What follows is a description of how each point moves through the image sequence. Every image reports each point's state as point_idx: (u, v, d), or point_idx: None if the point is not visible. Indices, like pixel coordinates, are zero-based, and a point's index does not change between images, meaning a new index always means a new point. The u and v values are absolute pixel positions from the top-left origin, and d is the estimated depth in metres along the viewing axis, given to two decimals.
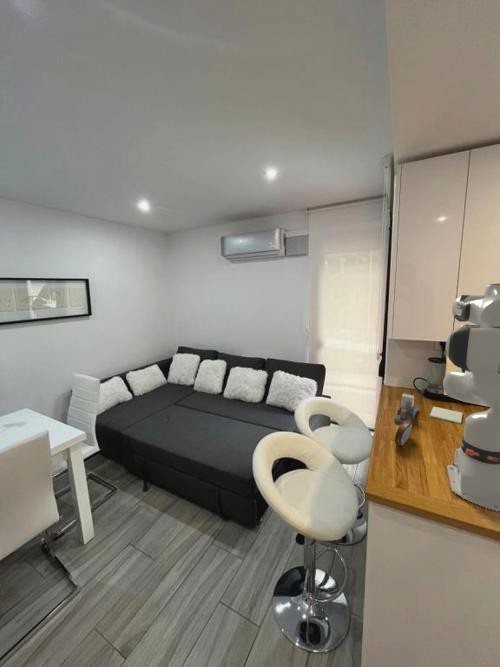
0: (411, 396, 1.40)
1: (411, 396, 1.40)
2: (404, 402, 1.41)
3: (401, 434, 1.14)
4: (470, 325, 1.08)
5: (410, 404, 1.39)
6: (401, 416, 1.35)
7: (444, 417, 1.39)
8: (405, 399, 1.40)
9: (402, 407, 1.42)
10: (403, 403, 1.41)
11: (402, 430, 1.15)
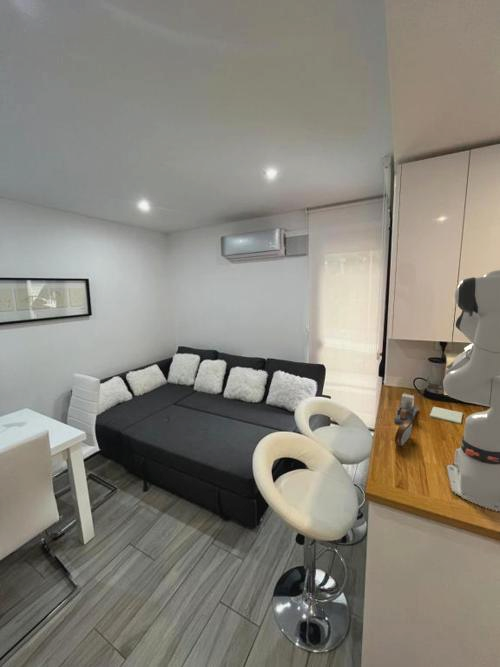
0: (411, 396, 1.40)
1: (411, 396, 1.40)
2: (404, 402, 1.41)
3: (401, 434, 1.14)
4: None
5: (410, 404, 1.39)
6: (401, 416, 1.35)
7: (444, 417, 1.39)
8: (405, 399, 1.40)
9: (402, 407, 1.42)
10: (403, 403, 1.41)
11: (402, 430, 1.15)
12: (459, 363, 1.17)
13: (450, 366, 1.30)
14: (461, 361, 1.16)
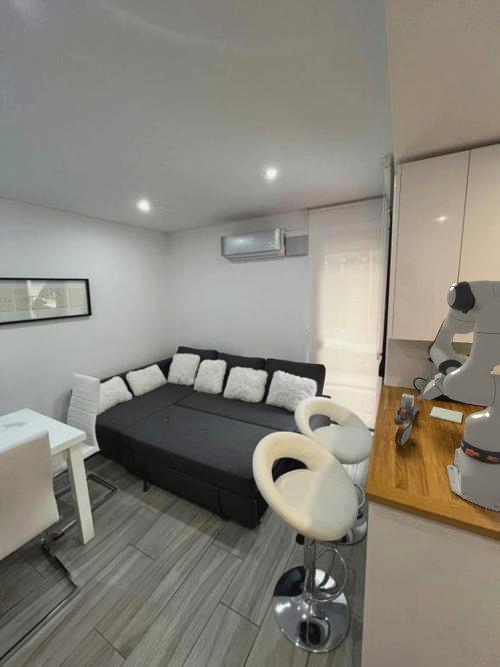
0: (411, 396, 1.40)
1: (411, 396, 1.40)
2: (404, 402, 1.41)
3: (401, 434, 1.14)
4: None
5: (410, 404, 1.39)
6: (401, 416, 1.35)
7: (444, 417, 1.39)
8: (405, 399, 1.40)
9: (402, 407, 1.42)
10: (403, 403, 1.41)
11: (402, 430, 1.15)
12: (428, 391, 1.26)
13: (423, 391, 1.40)
14: (430, 389, 1.26)
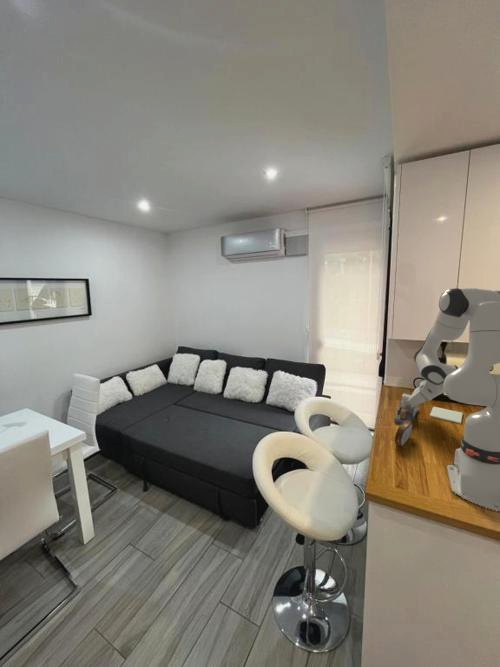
0: None
1: None
2: None
3: (401, 434, 1.14)
4: None
5: (410, 404, 1.39)
6: (401, 416, 1.35)
7: (444, 417, 1.39)
8: (405, 399, 1.40)
9: (402, 407, 1.42)
10: (403, 403, 1.41)
11: (402, 430, 1.15)
12: (413, 398, 1.30)
13: None
14: (415, 396, 1.30)
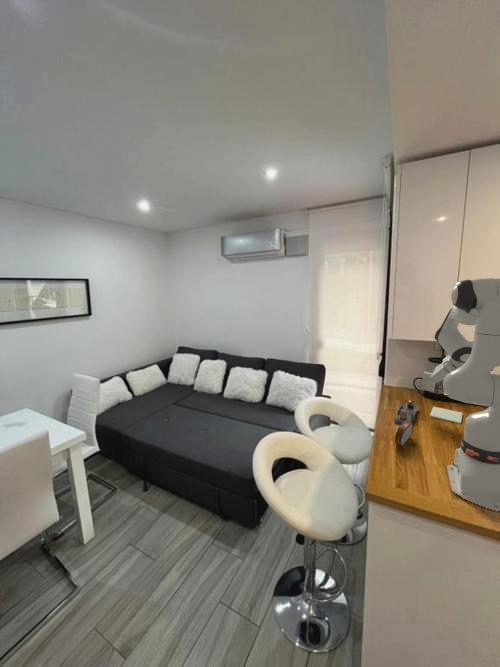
0: None
1: (432, 373, 1.38)
2: None
3: (401, 434, 1.14)
4: None
5: (432, 381, 1.37)
6: (401, 416, 1.35)
7: (444, 417, 1.39)
8: (427, 377, 1.38)
9: (423, 385, 1.40)
10: (425, 380, 1.39)
11: (402, 430, 1.15)
12: (437, 373, 1.28)
13: None
14: (439, 372, 1.28)
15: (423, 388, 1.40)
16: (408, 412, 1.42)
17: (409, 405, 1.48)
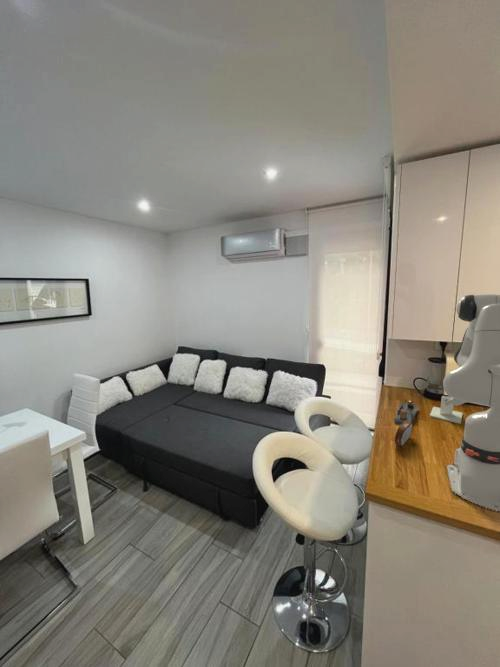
0: None
1: None
2: (444, 404, 1.40)
3: (401, 434, 1.14)
4: None
5: (450, 406, 1.39)
6: (401, 416, 1.35)
7: (444, 417, 1.39)
8: None
9: (442, 409, 1.41)
10: (443, 405, 1.41)
11: (402, 430, 1.15)
12: None
13: None
14: None
15: (441, 413, 1.42)
16: (408, 412, 1.42)
17: (409, 405, 1.48)
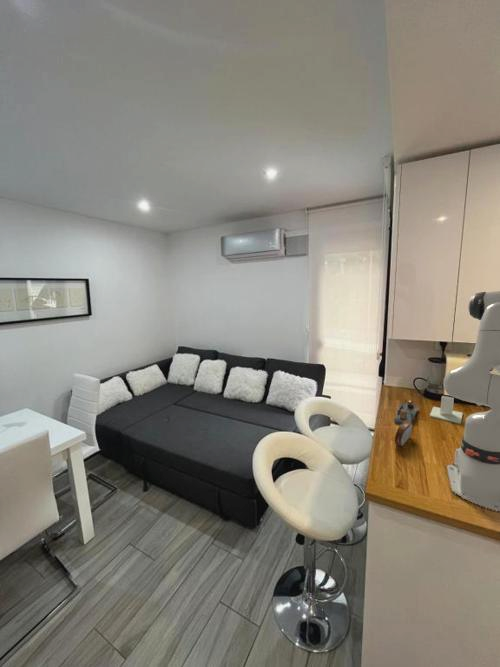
0: (451, 398, 1.39)
1: (451, 398, 1.40)
2: (444, 404, 1.40)
3: (401, 434, 1.14)
4: None
5: (450, 406, 1.39)
6: (401, 416, 1.35)
7: (444, 417, 1.39)
8: (445, 401, 1.40)
9: (442, 409, 1.41)
10: (443, 405, 1.41)
11: (402, 430, 1.15)
12: None
13: None
14: None
15: (441, 413, 1.42)
16: (408, 412, 1.42)
17: (409, 405, 1.48)
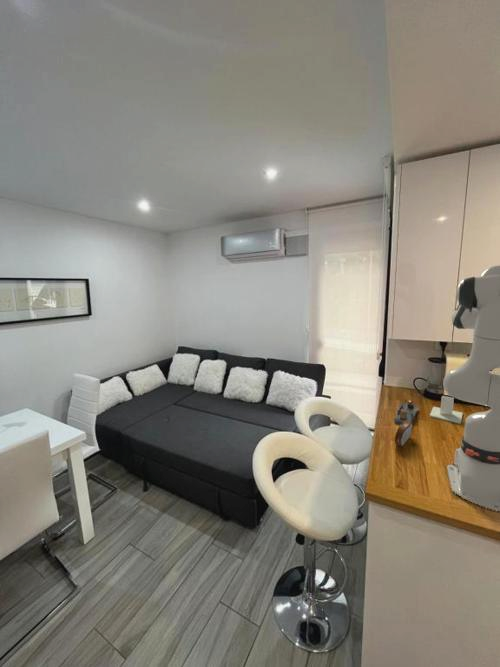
0: (451, 398, 1.39)
1: (451, 398, 1.40)
2: (444, 404, 1.40)
3: (401, 434, 1.14)
4: None
5: (450, 406, 1.39)
6: (401, 416, 1.35)
7: (444, 417, 1.39)
8: (445, 401, 1.40)
9: (442, 409, 1.41)
10: (443, 405, 1.41)
11: (402, 430, 1.15)
12: None
13: None
14: None
15: (441, 413, 1.42)
16: (408, 412, 1.42)
17: (409, 405, 1.48)
